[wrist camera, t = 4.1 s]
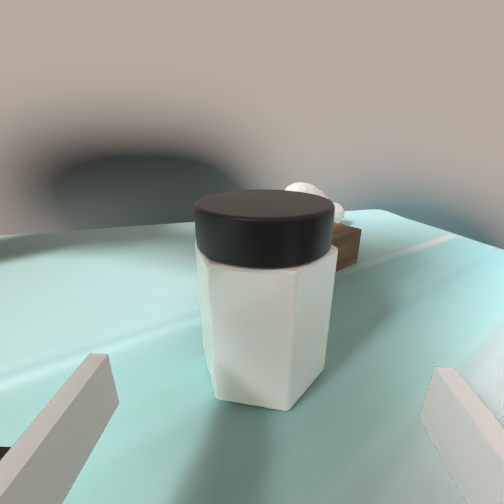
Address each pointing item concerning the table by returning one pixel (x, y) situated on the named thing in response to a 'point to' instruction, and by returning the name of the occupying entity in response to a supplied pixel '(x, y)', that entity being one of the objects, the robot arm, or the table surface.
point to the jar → (264, 292)
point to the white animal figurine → (314, 190)
